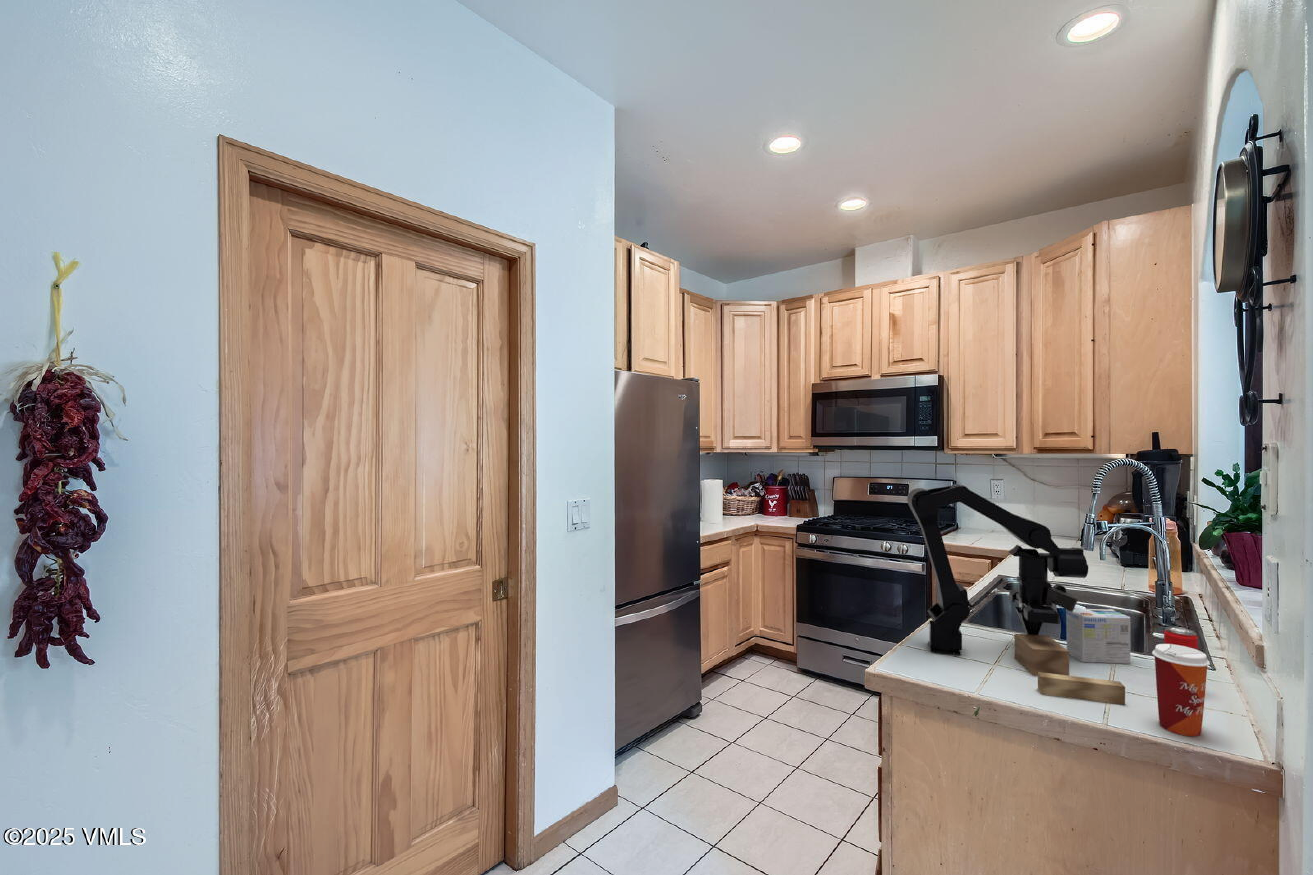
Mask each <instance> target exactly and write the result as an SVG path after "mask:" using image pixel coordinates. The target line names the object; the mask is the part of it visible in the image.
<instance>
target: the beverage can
mask: <svg viewBox="0 0 1313 875" xmlns="http://www.w3.org/2000/svg"><path fill="white" fill-rule="evenodd" d="M1163 644H1170V645H1171V644H1173V645H1180V646H1185V647H1189V648H1193V649H1196V650H1199V649H1198V647H1199V646H1198V645H1199V637H1198V636H1197V633H1196V631H1194V630H1191V629H1188V628H1184V627H1178V626H1168V627H1165V630H1164V632H1163Z"/></svg>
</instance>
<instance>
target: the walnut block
mask: <svg viewBox="0 0 1313 875" xmlns="http://www.w3.org/2000/svg"><path fill="white" fill-rule="evenodd" d="M1014 660H1015V661H1016V662H1018V663H1019V664H1020V665H1021V666H1022V668H1024V669H1025V670H1026V671H1027V672H1028V673H1029V674H1030V675H1031V676H1032V677H1038V672H1042V673H1050V674H1059V675H1068V676H1070V654H1069V651H1068V650H1067V648H1065V647H1064V646H1063V645H1061V644H1060V643H1059V642H1057V640H1055V639H1054V638H1052V636H1049V635H1047V634H1046V635H1045V634H1044V635H1043V634H1038V635H1032V634H1027V633H1014Z"/></svg>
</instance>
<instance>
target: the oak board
mask: <svg viewBox="0 0 1313 875" xmlns="http://www.w3.org/2000/svg"><path fill="white" fill-rule="evenodd" d="M1037 690H1038V692H1039V693H1040V695H1046V696H1053V697H1062V698H1069V699H1078V700H1085V701H1093V702H1100V703H1109V704H1114V705H1115V704H1116V705H1126V686H1125V685H1124V683H1122V682H1121V681H1120V680H1110V679H1103V678H1102V679H1100V678H1093V677H1082V676H1077V675H1076V676H1074V675H1069V676H1068V675H1059V674H1050V673H1042V672H1038V676H1037Z"/></svg>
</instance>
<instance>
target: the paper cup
mask: <svg viewBox="0 0 1313 875" xmlns="http://www.w3.org/2000/svg"><path fill="white" fill-rule="evenodd" d="M1151 654H1152V655H1153V656H1154V666H1155V667H1154V668H1155V681H1156V682H1155V683H1156V696H1157V697H1156V699H1157V700H1156V701H1157V711H1158V723H1159V726H1160V727H1161V728H1162V729H1164V730H1166V731H1168V732H1171V733H1172V734H1177V735H1178V736H1179V735H1180V736H1184V737H1195V738H1196V737H1199V736H1201V734H1202V729H1203V719H1204V718H1203V717H1204V712H1205V711H1204V710H1205V700H1206V699H1205V698H1206V697H1205V696H1206V687H1207V685H1206V684H1207V673H1208V666H1210V665H1211V663H1210V661H1209V660H1208V657H1207V654H1206V653H1205V652H1202V651H1201V650H1199V649H1198V650H1196V649H1193V648H1189V647H1185V646H1180V645H1173V644H1171V645H1170V644H1164V643H1159V644H1156V645H1155V648H1154V650H1152V652H1151Z"/></svg>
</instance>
